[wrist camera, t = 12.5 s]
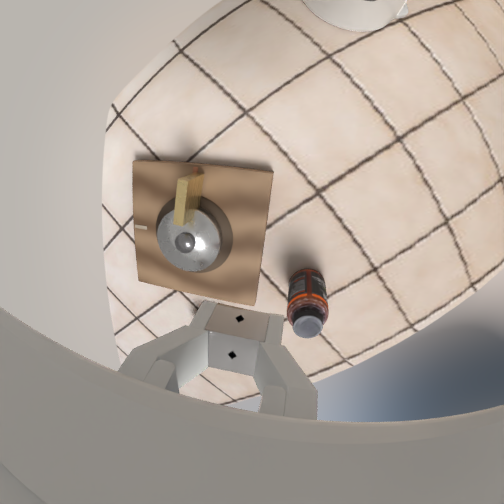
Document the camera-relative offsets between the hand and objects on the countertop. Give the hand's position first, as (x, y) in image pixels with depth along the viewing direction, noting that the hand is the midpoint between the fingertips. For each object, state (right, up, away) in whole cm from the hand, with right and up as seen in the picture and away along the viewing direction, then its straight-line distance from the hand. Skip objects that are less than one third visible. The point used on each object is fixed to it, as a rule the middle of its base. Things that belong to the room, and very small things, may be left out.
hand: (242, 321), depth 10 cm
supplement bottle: (+9, -2, +34) cm, 36 cm away
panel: (-9, +6, +34) cm, 35 cm away
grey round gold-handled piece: (-8, +7, +30) cm, 32 cm away
